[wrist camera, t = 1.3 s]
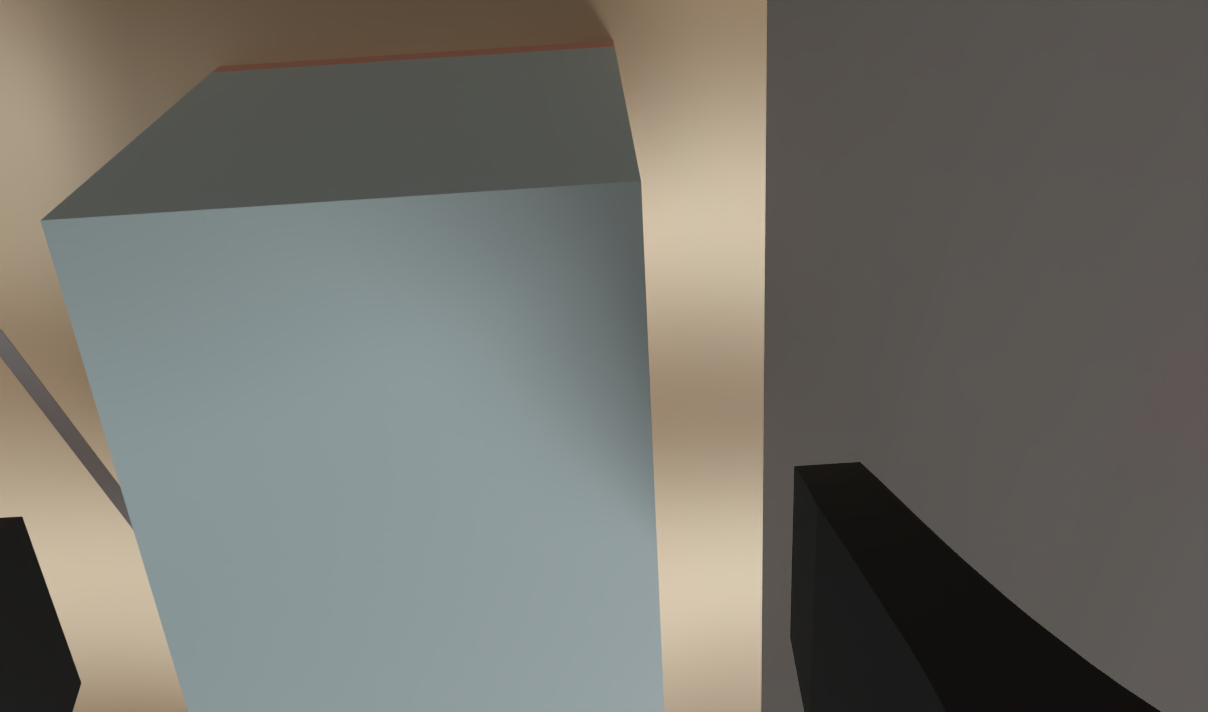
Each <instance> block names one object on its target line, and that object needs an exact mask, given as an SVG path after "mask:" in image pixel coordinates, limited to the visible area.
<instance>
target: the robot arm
mask: <svg viewBox="0 0 1208 712" xmlns="http://www.w3.org/2000/svg"><path fill="white" fill-rule="evenodd" d="M790 638H791V643H792V649H793V654H794V659H795V665H796V670H797V676H798V681H799V686H800V692H801V697H802V701H803V706H804V711H805V712H1160V711H1159V710H1157V709H1156V708H1154V707H1153V706H1151V705H1150V704H1148V703H1147V702H1145V701H1144V700H1142V699H1141V698H1139V697H1138V696H1136V695H1135V694H1133V693H1132V692H1130V691H1129V690H1127V689H1126V688H1124V687H1123V686H1121V685H1120V684H1118V683H1117V682H1116V681H1114V680H1113V679H1111V678H1110V677H1109V676H1107V675H1106V674H1104V673H1103V672H1102V671H1100V670H1099V669H1097V668H1096V667H1095V666H1093V665H1092V664H1090V663H1089V662H1088V661H1086V660H1085V659H1084V658H1082V657H1081V656H1080V655H1079V654H1077V653H1076V652H1075V651H1073V650H1072V649H1071V648H1070V647H1068V646H1067V645H1066V644H1064V643H1063V642H1062V641H1060V640H1059V639H1058V638H1057V637H1055V636H1054V635H1053V634H1051V633H1050V632H1049V631H1048V630H1046V629H1045V628H1044V627H1042V626H1041V625H1040V624H1038V623H1037V622H1036V621H1035V620H1033V619H1032V618H1031V617H1030V616H1028V615H1027V614H1026V613H1025V612H1023V611H1022V610H1021V609H1020V608H1019V607H1017V606H1016V605H1015V604H1014V603H1013V602H1011V601H1010V600H1009V599H1008V598H1007V597H1005V596H1004V595H1003V594H1002V593H1001V592H1000V591H999V590H997V589H996V588H995V587H994V586H993V585H992V584H991V583H989V582H988V581H987V580H986V579H985V578H984V577H983V576H981V575H980V574H979V573H978V572H977V571H976V570H975V569H973V568H972V567H971V566H970V565H969V564H968V563H967V562H965V561H964V560H963V559H962V558H961V557H960V556H959V555H958V554H957V553H956V552H954V551H953V550H952V549H951V548H950V547H949V546H948V545H947V544H946V543H945V542H944V541H943V540H941V539H940V538H939V537H938V536H937V535H936V534H935V533H934V532H933V531H932V530H931V529H930V528H929V527H928V526H927V525H926V524H924V523H923V522H922V521H921V520H920V519H919V518H918V517H917V516H916V515H915V514H914V513H913V512H912V511H911V510H910V509H909V508H908V507H907V506H906V505H905V504H904V503H903V502H902V501H900V500H899V499H898V498H897V497H896V496H895V495H894V494H893V493H892V492H891V491H890V490H889V489H888V488H887V487H886V486H885V485H884V484H883V483H882V482H881V481H880V480H879V479H878V478H877V477H875V476H874V475H873V474H872V473H871V472H870V471H869V470H868V469H867V468H866V467H865V466H864V465H863V464H861V463H860V462H854V463H838V464H823V465H807V466H794V505H793V547H792V588H791V630H790ZM80 686H81V680H80V677H79V675H78V672H77V669H76V666H75V663H74V661H73V658H72V655H71V652H70V649H69V647H68V644H67V641H66V638H65V635H64V632H63V630H62V627H61V624H60V621H59V618H58V616H57V613H56V610H55V607H54V604H53V602H52V599H51V596H50V593H49V590H48V587H47V585H46V582H45V579H44V576H43V573H42V571H41V568H40V565H39V562H38V559H37V556H36V554H35V551H34V548H33V545H32V542H31V540H30V537H29V534H28V531H27V528H26V526H25V523H24V520H23V517H22V516H21V517H5V518H0V712H73V709H74V705H75V702H76V699H77V696H78V693H79V689H80Z"/></svg>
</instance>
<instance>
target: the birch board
mask: <svg viewBox="0 0 1208 712" xmlns="http://www.w3.org/2000/svg"><path fill="white" fill-rule="evenodd" d="M600 41H614V46H615V51H616V56H617V61H618V66H619V71H620V76H621V82H622V87H623V92H624V97H625V102H626V107H627V112H628V117H629V122H630V127H631V132H632V137H633V143H634V148H635V153H636V158H637V163H638V168H639V173H640V178H641V191H642V214H643V236H644V259H645V282H646V305H647V328H648V351H649V374H650V396H651V419H652V442H653V465H654V488H655V511H656V534H657V556H658V579H659V602H660V625H661V648H662V671H663V694H664V712H761V653H762V533H763V413H764V293H765V173H766V54H767V0H0V518H5V517H21V516H22V517H23V520H24V523H25V526H26V528H27V531H28V534H29V537H30V540H31V542H32V545H33V548H34V551H35V554H36V556H37V559H38V562H39V565H40V568H41V571H42V573H43V576H44V579H45V582H46V585H47V587H48V590H49V593H50V596H51V599H52V602H53V604H54V607H55V610H56V613H57V616H58V618H59V621H60V624H61V627H62V630H63V632H64V635H65V638H66V641H67V644H68V647H69V649H70V652H71V655H72V658H73V661H74V663H75V666H76V669H77V672H78V675H79V677H80V680H81V686H80V689H79V693H78V696H77V699H76V702H75V705H74V709H73V712H188V710H187V707H186V704H185V700H184V697H183V694H182V690H181V687H180V684H179V680H178V677H177V674H176V670H175V667H174V664H173V660H172V657H171V654H170V650H169V647H168V644H167V640H166V637H165V634H164V630H163V627H162V624H161V620H160V617H159V614H158V610H157V607H156V604H155V600H154V597H153V594H152V590H151V587H150V584H149V580H148V577H147V574H146V570H145V567H144V564H143V560H142V557H141V554H140V550H139V547H138V544H137V540H136V537H135V534H134V531H133V527H132V524H131V521H130V517H129V514H128V511H127V507H126V504H125V501H124V497H123V494H122V491H121V487H120V484H119V481H118V477H117V474H116V471H115V467H114V464H113V461H112V457H111V454H110V451H109V447H108V444H107V441H106V437H105V434H104V431H103V427H102V424H101V421H100V417H99V414H98V411H97V407H96V404H95V401H94V397H93V394H92V391H91V387H90V384H89V381H88V377H87V374H86V371H85V367H84V364H83V361H82V357H81V354H80V351H79V347H78V344H77V341H76V337H75V334H74V331H73V327H72V324H71V321H70V317H69V314H68V311H67V307H66V304H65V301H64V297H63V294H62V291H61V287H60V284H59V281H58V278H57V274H56V271H55V268H54V264H53V261H52V258H51V254H50V251H49V248H48V244H47V241H46V238H45V234H44V231H43V228H42V224H41V221H40V220H41V219H43V218H44V217H45V216H46V215H47V214H48V213H50V212H51V211H52V210H53V209H54V208H55V207H57V206H58V205H59V204H60V203H61V202H62V201H63V200H65V199H66V198H67V197H68V196H69V195H70V194H72V193H73V192H74V191H75V190H76V189H77V188H78V187H80V186H81V185H82V184H83V183H84V182H85V181H87V180H88V179H89V178H90V177H91V176H92V175H94V174H95V173H96V172H97V171H98V170H99V169H100V168H102V167H103V166H104V165H105V164H106V163H107V162H109V161H110V160H111V159H112V158H113V157H114V156H115V155H117V154H118V153H119V152H120V151H121V150H122V149H124V148H125V147H126V146H127V145H128V144H129V143H131V142H132V141H133V140H134V139H135V138H136V137H137V136H139V135H140V134H141V133H142V132H143V131H144V130H146V129H147V128H148V127H149V126H150V125H151V124H152V123H154V122H155V121H156V120H157V119H158V118H159V117H161V116H162V115H163V114H164V113H165V112H166V111H168V110H169V109H170V108H171V107H172V106H173V105H174V104H176V103H177V102H178V101H179V100H180V99H181V98H183V97H184V96H185V95H186V94H187V93H188V92H189V91H191V90H192V89H193V88H194V87H195V86H196V85H198V84H199V83H200V82H201V81H202V80H203V79H205V78H206V77H207V76H208V75H209V74H210V73H211V72H213V71H214V70H215V69H216V68H217V67H218V66H231V65H246V64H262V63H277V62H292V61H308V60H323V59H339V58H354V57H369V56H385V55H400V54H415V53H431V52H446V51H462V50H477V49H492V48H508V47H523V46H539V45H554V44H569V43H585V42H600Z"/></svg>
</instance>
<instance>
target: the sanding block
mask: <svg viewBox="0 0 1208 712" xmlns="http://www.w3.org/2000/svg"><path fill="white" fill-rule="evenodd" d="M40 221H41V224H42V228H43V231H44V234H45V238H46V241H47V244H48V248H49V251H50V254H51V258H52V261H53V264H54V268H55V271H56V274H57V278H58V281H59V284H60V287H61V291H62V294H63V297H64V301H65V304H66V307H67V311H68V314H69V317H70V321H71V324H72V327H73V331H74V334H75V337H76V341H77V344H78V347H79V351H80V354H81V357H82V361H83V364H84V367H85V371H86V374H87V377H88V381H89V384H90V387H91V391H92V394H93V397H94V401H95V404H96V407H97V411H98V414H99V417H100V421H101V424H102V427H103V431H104V434H105V437H106V441H107V444H108V447H109V451H110V454H111V457H112V461H113V464H114V467H115V471H116V474H117V477H118V481H119V484H120V487H121V491H122V494H123V497H124V501H125V504H126V507H127V511H128V514H129V517H130V521H131V524H132V527H133V531H134V534H135V537H136V540H137V544H138V547H139V550H140V554H141V557H142V560H143V564H144V567H145V570H146V574H147V577H148V580H149V584H150V587H151V590H152V594H153V597H154V600H155V604H156V607H157V610H158V614H159V617H160V620H161V624H162V627H163V630H164V634H165V637H166V640H167V644H168V647H169V650H170V654H171V657H172V660H173V664H174V667H175V670H176V674H177V677H178V680H179V684H180V687H181V690H182V694H183V697H184V700H185V704H186V707H187V710H188V712H664V694H663V671H662V648H661V625H660V602H659V579H658V556H657V534H656V511H655V488H654V465H653V442H652V419H651V396H650V374H649V351H648V328H647V305H646V282H645V259H644V236H643V214H642V191H641V178H640V173H639V168H638V163H637V158H636V153H635V148H634V143H633V137H632V132H631V127H630V122H629V117H628V112H627V107H626V102H625V97H624V92H623V87H622V82H621V76H620V71H619V66H618V61H617V56H616V51H615V46H614V41H600V42H585V43H569V44H554V45H539V46H523V47H508V48H492V49H477V50H462V51H446V52H431V53H415V54H400V55H385V56H369V57H354V58H339V59H323V60H308V61H292V62H277V63H262V64H246V65H231V66H218V67H217V68H216V69H215V70H214V71H213V72H211V73H210V74H209V75H208V76H207V77H206V78H205V79H203V80H202V81H201V82H200V83H199V84H198V85H196V86H195V87H194V88H193V89H192V90H191V91H189V92H188V93H187V94H186V95H185V96H184V97H183V98H181V99H180V100H179V101H178V102H177V103H176V104H174V105H173V106H172V107H171V108H170V109H169V110H168V111H166V112H165V113H164V114H163V115H162V116H161V117H159V118H158V119H157V120H156V121H155V122H154V123H152V124H151V125H150V126H149V127H148V128H147V129H146V130H144V131H143V132H142V133H141V134H140V135H139V136H137V137H136V138H135V139H134V140H133V141H132V142H131V143H129V144H128V145H127V146H126V147H125V148H124V149H122V150H121V151H120V152H119V153H118V154H117V155H115V156H114V157H113V158H112V159H111V160H110V161H109V162H107V163H106V164H105V165H104V166H103V167H102V168H100V169H99V170H98V171H97V172H96V173H95V174H94V175H92V176H91V177H90V178H89V179H88V180H87V181H85V182H84V183H83V184H82V185H81V186H80V187H78V188H77V189H76V190H75V191H74V192H73V193H72V194H70V195H69V196H68V197H67V198H66V199H65V200H63V201H62V202H61V203H60V204H59V205H58V206H57V207H55V208H54V209H53V210H52V211H51V212H50V213H48V214H47V215H46V216H45V217H44V218H43V219H41V220H40Z"/></svg>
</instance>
